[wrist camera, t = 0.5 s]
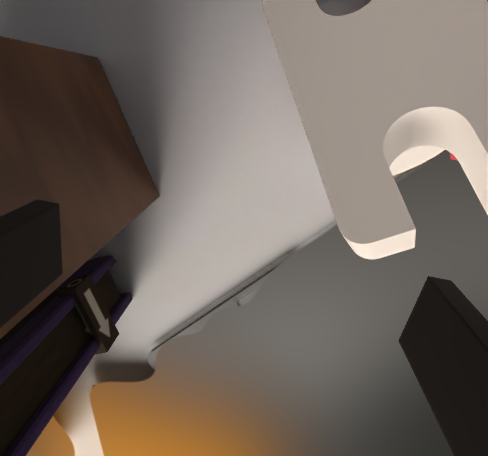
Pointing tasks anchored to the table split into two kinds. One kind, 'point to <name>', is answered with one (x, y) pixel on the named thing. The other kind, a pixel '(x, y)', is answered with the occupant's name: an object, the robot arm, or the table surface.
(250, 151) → the table surface
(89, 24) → the table surface
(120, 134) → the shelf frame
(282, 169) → the table surface
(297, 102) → the white slotted bracket
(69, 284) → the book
